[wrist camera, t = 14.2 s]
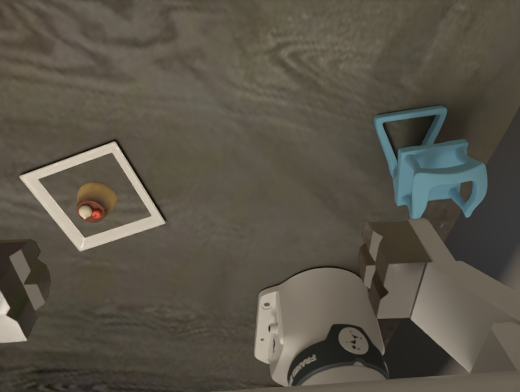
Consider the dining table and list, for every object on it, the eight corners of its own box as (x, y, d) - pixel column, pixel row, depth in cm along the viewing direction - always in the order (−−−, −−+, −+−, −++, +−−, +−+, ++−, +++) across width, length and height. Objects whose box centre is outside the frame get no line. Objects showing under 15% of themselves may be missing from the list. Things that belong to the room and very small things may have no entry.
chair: (371, 178, 49) (407, 244, 40) (373, 114, 45) (414, 172, 35) (435, 169, 49) (487, 233, 39) (444, 104, 45) (505, 158, 35)
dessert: (167, 218, 51) (161, 243, 47) (82, 245, 53) (70, 272, 49) (117, 136, 45) (106, 157, 41) (22, 171, 47) (3, 194, 43)
